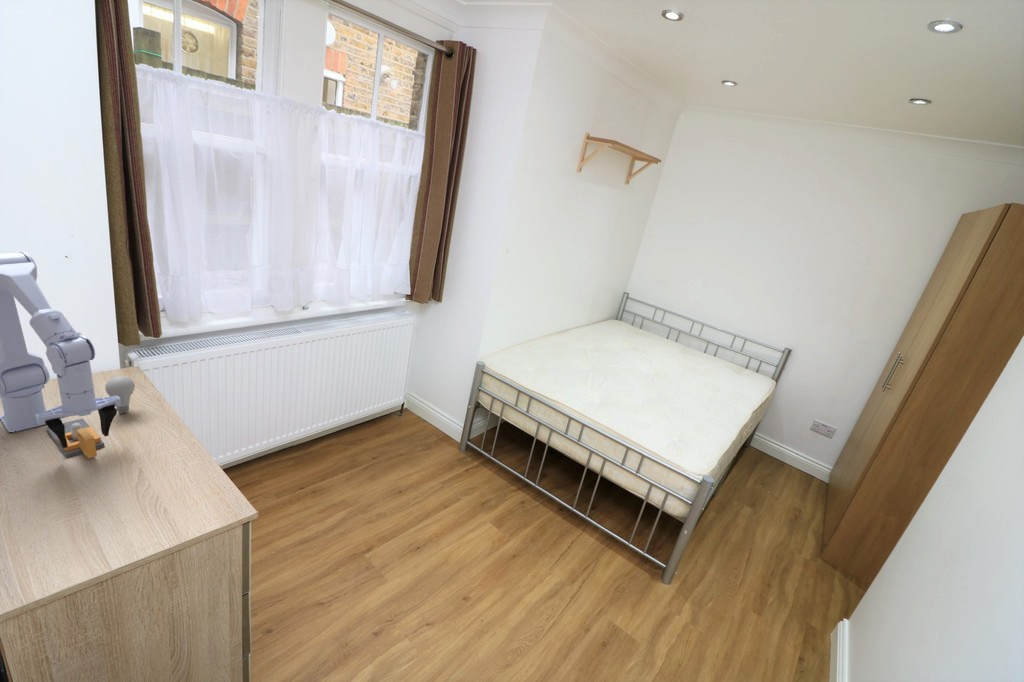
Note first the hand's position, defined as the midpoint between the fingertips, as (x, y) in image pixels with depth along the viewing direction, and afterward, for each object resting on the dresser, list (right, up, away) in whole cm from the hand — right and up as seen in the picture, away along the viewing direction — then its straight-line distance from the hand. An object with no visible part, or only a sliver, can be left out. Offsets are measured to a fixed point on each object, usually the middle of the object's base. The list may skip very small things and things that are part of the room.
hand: (85, 439), depth 111 cm
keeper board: (-8, -1, +6) cm, 9 cm away
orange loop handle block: (-2, -2, +2) cm, 4 cm away
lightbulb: (-6, +3, +18) cm, 20 cm away
